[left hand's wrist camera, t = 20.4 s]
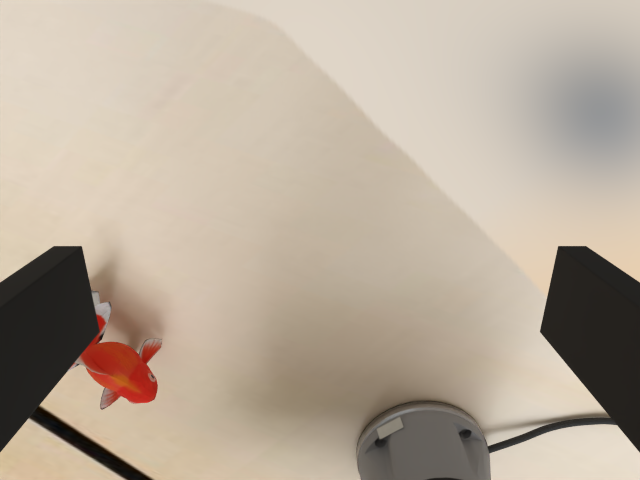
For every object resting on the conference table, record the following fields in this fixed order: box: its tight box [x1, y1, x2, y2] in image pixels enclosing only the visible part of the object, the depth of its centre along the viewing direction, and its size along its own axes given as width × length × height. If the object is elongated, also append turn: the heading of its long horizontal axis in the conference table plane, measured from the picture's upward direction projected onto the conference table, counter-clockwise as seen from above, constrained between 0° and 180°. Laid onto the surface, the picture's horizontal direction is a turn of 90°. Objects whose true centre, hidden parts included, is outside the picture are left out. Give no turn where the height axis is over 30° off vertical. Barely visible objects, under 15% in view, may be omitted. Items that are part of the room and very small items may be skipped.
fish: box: [68, 291, 162, 409], centre depth 43 cm, size 11×16×10 cm
